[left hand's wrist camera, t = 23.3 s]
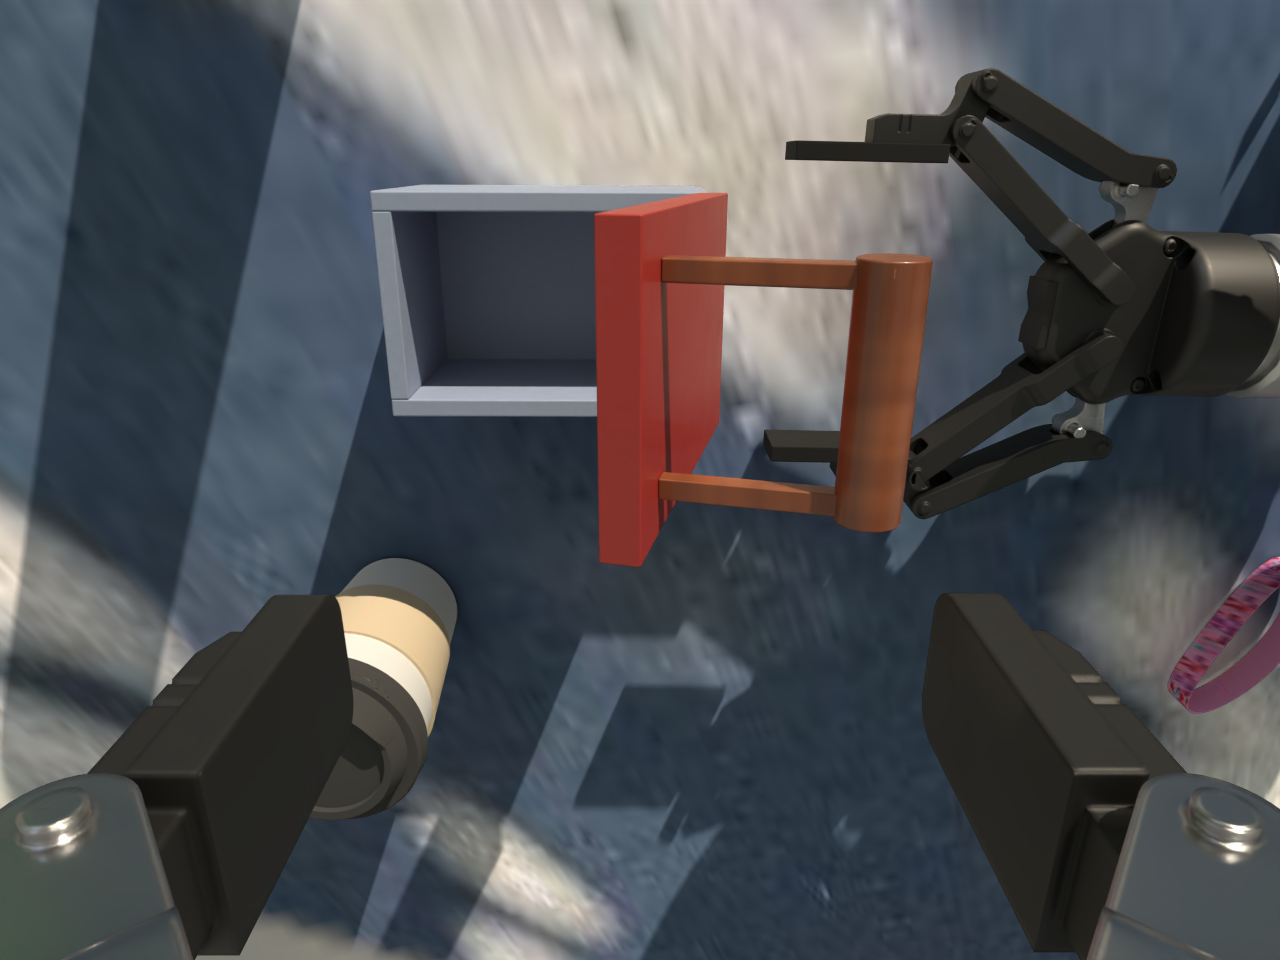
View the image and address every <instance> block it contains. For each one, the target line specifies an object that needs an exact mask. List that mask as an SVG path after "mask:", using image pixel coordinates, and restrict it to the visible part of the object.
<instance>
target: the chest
mask: <svg viewBox="0 0 1280 960" xmlns="http://www.w3.org/2000/svg"><path fill="white" fill-rule="evenodd" d="M695 193H710V192H708V191H706V190H704V189H702V188H699V187H697V186H633V185H417V186H408V187H400V188H392V189H383V190H375V191H370V199H371V208H372V211H373V212H372V219H373V229H374V238H375V248H376V258H377V267H378V277H379V286H380V296H381V305H382V315H383V325H384V334H385V344H386V353H387V363H388V373H389V382H390V392H391V399H392V409H393V415H394V416H481V417H597V382H596V316H595V250H594V214H596V213H601V212H606V211H611V210H616V209H621V208H626V207H630V206H635V205H640V204H645V203H650V202H655V201H660V200H665V199H670V198H675V197H680V196H685V195H690V194H695Z"/></svg>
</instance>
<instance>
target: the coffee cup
mask: <svg viewBox="0 0 1280 960" xmlns="http://www.w3.org/2000/svg"><path fill="white" fill-rule="evenodd" d="M335 597H336V599H337V600H338V602H339V605H340V608H341V613H342V620H343V627H344V634H345V641H346V648H347V655H348V662H349V669H350V676H351V683H352V690H353V702H354V704H353V719H352V725H351V730H350V734H349V737H348V740H347V742H346V745H345V747H344V749H343V751H342V753H341V755H340V757H339V759H338V761H337V763H336V765H335V767H334V769H333V771H332V773H331V774H330V776H329V778H328V780H327V782H326V784H325V786H324V788H323V790H322V792H321V794H320V796H319V798H318V800H317V802H316V804H315V806H314V808H313V810H312V812H311V814H310V816H309V817H310V818H315V819H322V820H340V819H352V818H361V817H366V816H370V815H373V814H376V813H379V812H382V811H384V810H386V809H388V808H390V807H392V806H393V805H395V804H396V803H398V802H399V801H400V800H401V799H402V798H403V797H404V796H405V795H406V794H407V793H408V792H409V791H410V789H411V788H412V786H413V785H414V783H415V781H416V779H417V776H418V774H419V773H420V771H421V769H422V767H423V765H424V762H425V759H426V755H427V750H428V736H429V735H430V732H431V730H432V727H433V724H434V720H435V716H436V712H437V708H438V704H439V699H440V695H441V691H442V687H443V683H444V679H445V675H446V671H447V667H448V663H449V658H450V644H451V640H452V636H453V632H454V628H455V624H456V620H457V604H456V600H455V597H454V594H453V592H452V590H451V589H450V587H449V585H448V584H447V583H446V581H445V580H444V579H443V578H442V577H441V576H440V575H439V574H438V573H436V572H435V571H434V570H432V569H431V568H429V567H427V566H426V565H423V564H421V563H419V562H416V561H413V560H409V559H402V558H388V559H382V560H379V561H376V562H373V563H371V564H369V565H367V566H366V567H364V568H363V569H362V570H361V571H359V572H358V574H357V575H356V576H355V577H354V578H353V579H352V580H351V581H350V582H349V584H348V585H347V586H346V587H345V588H344V589H343V590H342V592H341V593H339V594H338V595H336V596H335Z"/></svg>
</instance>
